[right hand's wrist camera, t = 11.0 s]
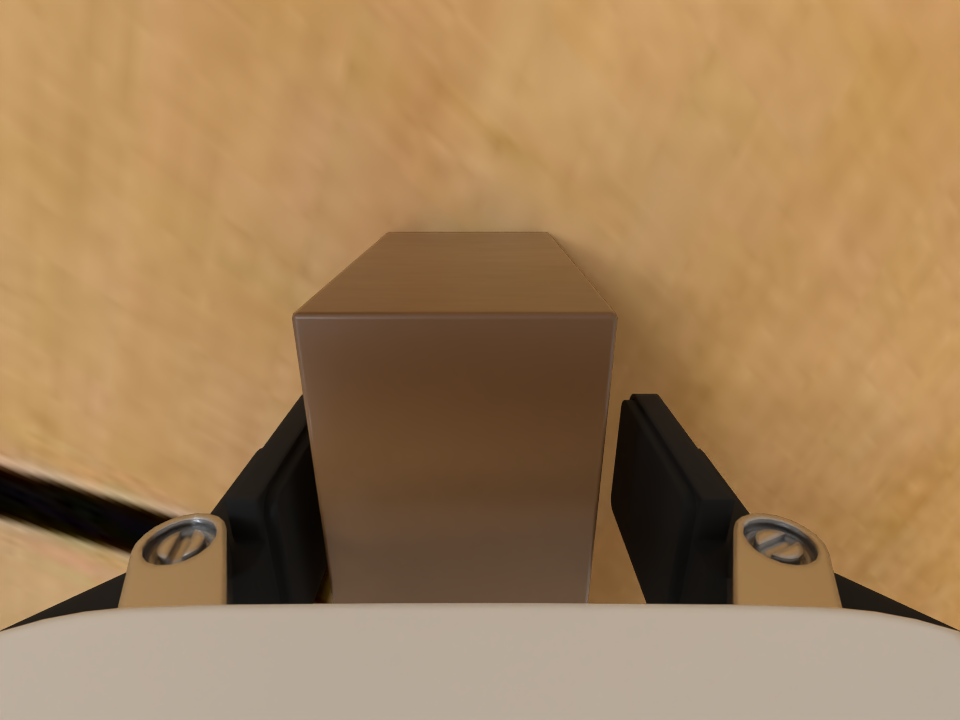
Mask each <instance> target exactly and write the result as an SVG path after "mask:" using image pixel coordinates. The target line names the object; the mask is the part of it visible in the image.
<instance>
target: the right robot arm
mask: <svg viewBox="0 0 960 720" xmlns="http://www.w3.org/2000/svg"><path fill="white" fill-rule="evenodd" d="M611 506H612V510H613V514H614V516H615V519H616V522H617V524H618V527H619V530H620V532H621V535H622V538H623V541H624V543H625V546H626V549H627V551H628V554H629V557H630V560H631V562H632V565H633V568H634V570H635V573H636V576H637V578H638V581H639V584H640V587H641V589H642V592H643V595H644V597H645V600H646V603H647V604H596V603H360V604H313V603H314V600H315V597H316V595H317V592H318V589H319V586H320V584H321V581H322V578H323V576H324V573H325V570H326V568H327V565H328V564H327V557H326V550H325V543H324V536H323V529H322V522H321V515H320V508H319V501H318V495H317V488H316V481H315V474H314V467H313V460H312V453H311V446H310V439H309V432H308V425H307V418H306V411H305V404H304V397H303V395H301V397H300V398H299V399H298V401H297V402H296V403H295V405H294V406H293V407H292V409H291V410H290V412H289V413H288V414H287V416H286V417H285V418H284V420H283V421H282V422H281V424H280V425H279V426H278V428H277V429H276V431H275V432H274V433H273V435H272V436H271V437H270V439H269V440H268V441H267V443H266V444H265V446H264V447H263V448H262V449H259V450H258V451H257V452H256V453H255V455H254V456H253V457H252V459H251V460H250V461H249V463H248V464H247V465H246V467H245V468H244V469H243V471H242V472H241V473H240V475H239V476H238V478H237V479H236V480H235V482H234V483H233V484H232V486H231V487H230V488H229V490H228V491H227V492H226V494H225V495H224V496H223V498H222V499H221V500H220V502H219V503H218V504H217V506H216V507H215V508H214V510H213V511H212V512H211V514H199V513H197V514H190V515H184V516H180V517H177V518H174V519H171V520H168V521H166V522H164V523H162V524H160V525H158V526H156V527H155V528H153V529H152V530H150V531H149V532H148V533H146V534H145V535H144V536H143V537H142V538H141V539H140V540H139V541H138V542H137V543H136V544H135V546H134V548H133V550H132V552H131V555H130V560H129V564H128V568H127V572H126V573H124V574H122V575H120V576H118V577H115V578H113V579H111V580H109V581H107V582H105V583H103V584H100V585H98V586H96V587H94V588H92V589H90V590H87V591H85V592H83V593H81V594H79V595H77V596H74V597H72V598H70V599H68V600H66V601H64V602H61V603H59V604H57V605H55V606H53V607H51V608H48V609H46V610H44V611H42V612H40V613H38V614H35V615H33V616H31V617H29V618H27V619H25V620H23V621H20V622H18V623H16V624H14V625H12V626H10V627H7V628H5V629H3V630H1V631H0V720H960V631H959V630H957V629H955V628H953V627H950V626H948V625H946V624H944V623H942V622H940V621H937V620H935V619H933V618H931V617H929V616H927V615H925V614H922V613H920V612H918V611H916V610H914V609H912V608H909V607H907V606H905V605H903V604H901V603H899V602H896V601H894V600H892V599H890V598H888V597H886V596H883V595H881V594H879V593H877V592H875V591H873V590H870V589H868V588H866V587H864V586H862V585H860V584H857V583H855V582H853V581H851V580H849V579H847V578H845V577H842V576H840V575H838V574H836V573H834V572H833V568H832V564H831V560H830V555H829V552H828V550H827V548H826V546H825V544H824V543H823V542H822V541H821V540H820V539H819V538H818V537H817V536H816V535H815V534H814V533H812V532H811V531H810V530H808V529H807V528H805V527H804V526H802V525H800V524H798V523H796V522H794V521H792V520H789V519H786V518H783V517H780V516H776V515H770V514H764V513H761V514H749V512H748V511H747V510H746V508H745V507H744V506H743V504H742V503H741V502H740V500H739V499H738V498H737V496H736V495H735V494H734V492H733V491H732V490H731V488H730V487H729V486H728V484H727V483H726V482H725V480H724V479H723V478H722V476H721V475H720V474H719V472H718V471H717V469H716V468H715V467H714V465H713V464H712V463H711V461H710V460H709V459H708V457H707V456H706V455H705V453H704V452H703V451H702V450H701V449H698V448H697V447H696V446H695V444H694V443H693V441H692V440H691V439H690V437H689V436H688V435H687V433H686V432H685V431H684V429H683V428H682V427H681V425H680V424H679V422H678V421H677V420H676V418H675V417H674V416H673V414H672V413H671V412H670V410H669V409H668V407H667V406H666V405H665V403H664V402H663V401H662V399H661V398H660V397H659V395H657V394H632V395H631V397H630V400H624V401H623V402H622V406H621V414H620V423H619V431H618V440H617V449H616V457H615V466H614V475H613V483H612V492H611Z"/></svg>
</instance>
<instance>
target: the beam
mask: <svg viewBox="0 0 960 720" xmlns="http://www.w3.org/2000/svg"><path fill="white" fill-rule="evenodd" d="M292 321H293V328H294V335H295V342H296V349H297V355H298V362H299V369H300V376H301V383H302V390H303V397H304V404H305V411H306V418H307V425H308V432H309V439H310V446H311V453H312V460H313V467H314V474H315V481H316V488H317V495H318V501H319V508H320V515H321V522H322V529H323V536H324V543H325V550H326V557H327V564H328V571H329V578H330V585H331V592H332V599H333V604H360V603H588V596H589V586H590V577H591V567H592V558H593V548H594V538H595V529H596V519H597V510H598V500H599V490H600V481H601V471H602V462H603V452H604V442H605V433H606V423H607V414H608V404H609V395H610V385H611V375H612V366H613V356H614V347H615V337H616V327H617V315H616V313H615V312H614V310H613V309H612V308H611V307H610V306H609V305H608V303H607V302H606V301H605V300H604V299H603V297H602V296H601V295H600V294H599V293H598V291H597V290H596V289H595V288H594V287H593V285H592V284H591V283H590V282H589V281H588V279H587V278H586V277H585V276H584V275H583V274H582V272H581V271H580V270H579V269H578V268H577V266H576V265H575V264H574V263H573V262H572V260H571V259H570V258H569V257H568V256H567V254H566V253H565V252H564V251H563V250H562V248H561V247H560V246H559V245H558V244H557V243H556V241H555V240H554V239H553V238H552V237H551V235H550V234H549V233H547V232H388V233H386V234H385V235H384V236H383V237H382V238H381V239H379V240H378V241H377V242H376V243H375V244H374V245H373V246H371V247H370V248H369V249H368V250H367V251H366V252H364V253H363V254H362V255H361V256H360V257H359V258H357V259H356V260H355V261H354V262H353V263H352V264H350V265H349V266H348V267H347V268H346V269H345V270H343V271H342V272H341V273H340V274H339V275H338V276H336V277H335V278H334V279H333V280H332V281H331V282H329V283H328V284H327V285H326V286H325V287H324V288H322V289H321V290H320V291H319V292H318V293H317V294H316V295H314V296H313V297H312V298H311V299H310V300H309V301H307V302H306V303H305V304H304V305H303V306H302V307H300V308H299V309H298V310H297V311H296V312H295V313H293V317H292Z"/></svg>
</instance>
